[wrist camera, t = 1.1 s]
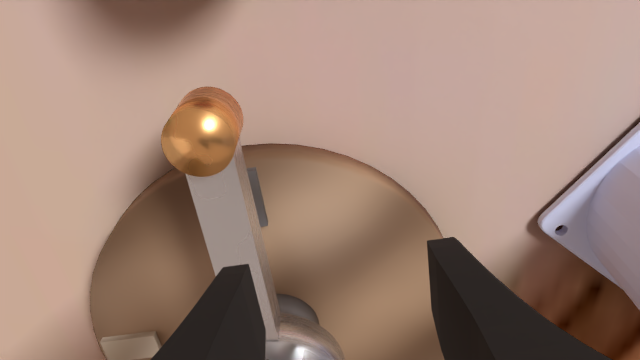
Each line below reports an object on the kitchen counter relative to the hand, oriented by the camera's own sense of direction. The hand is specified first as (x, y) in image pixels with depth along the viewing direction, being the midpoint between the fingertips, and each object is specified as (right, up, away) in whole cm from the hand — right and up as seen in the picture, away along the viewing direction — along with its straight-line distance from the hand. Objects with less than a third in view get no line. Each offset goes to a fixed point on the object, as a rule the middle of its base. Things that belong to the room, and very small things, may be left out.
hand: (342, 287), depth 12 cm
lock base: (-2, -3, +12) cm, 13 cm away
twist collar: (-3, -1, +7) cm, 8 cm away
